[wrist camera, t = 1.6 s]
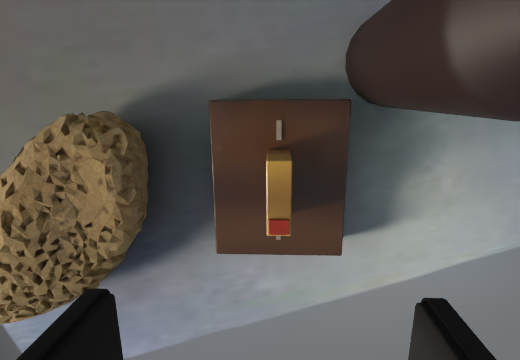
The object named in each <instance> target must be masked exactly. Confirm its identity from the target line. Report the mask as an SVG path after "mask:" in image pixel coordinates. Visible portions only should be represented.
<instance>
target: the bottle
mask: <svg viewBox="0 0 520 360" xmlns="http://www.w3.org/2000/svg"><path fill="white" fill-rule="evenodd" d="M346 72H347V75H348V79H349V83H350V84H351V86H352V87H353V89H354V90H355V92H356V93H357V95H359V96H360V97H362V98H363V99H364V100H366V101H367V102H368V103H372V104H375V105H378V106H382V107H391V108H400V109H409V110H418V111H427V112H436V113H445V114H454V115H463V116H472V117H481V118H490V119H499V120H508V121H520V0H391V1H390V2H389V3H388V4H387V5H385V6H384V7H383V8H382V9H381V10H379V11H378V12H377V13H376V14H374V15H373V16H372V17H371V18H370V19H368V20H367V21H366V22H365V23H364V24H362V25H361V26H360V28H359V29H358V30H357V32H356V33H355V35H354V36H353V38H352V39H351V42H350V45H349V48H348V51H347V53H346Z"/></svg>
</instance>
